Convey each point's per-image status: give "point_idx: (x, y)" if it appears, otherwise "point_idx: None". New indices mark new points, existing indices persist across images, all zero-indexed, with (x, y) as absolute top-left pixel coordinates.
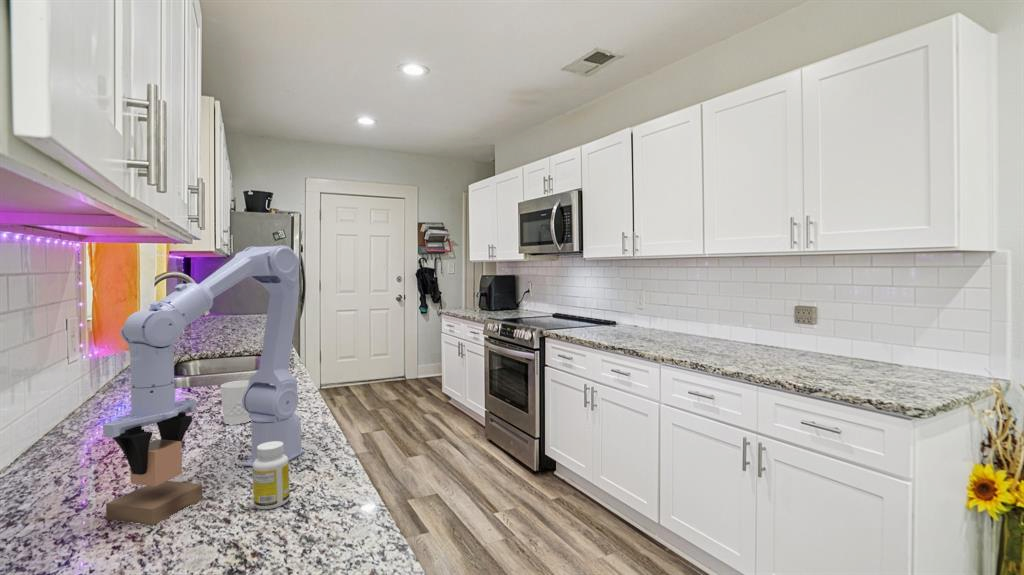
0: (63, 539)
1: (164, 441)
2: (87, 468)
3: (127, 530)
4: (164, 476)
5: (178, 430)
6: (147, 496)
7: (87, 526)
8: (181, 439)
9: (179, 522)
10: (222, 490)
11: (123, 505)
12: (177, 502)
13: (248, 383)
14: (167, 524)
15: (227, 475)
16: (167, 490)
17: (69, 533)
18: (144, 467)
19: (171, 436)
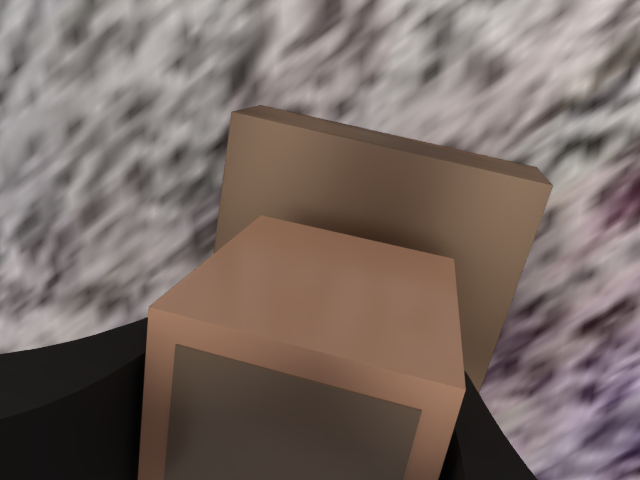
0: (620, 457)
1: (182, 454)
2: None
3: (568, 257)
4: (384, 256)
5: (64, 408)
6: None
7: (512, 438)
8: (94, 342)
9: (507, 52)
10: (160, 65)
11: (486, 364)
12: (396, 143)
13: None
14: (524, 103)
15: (15, 152)
16: None
17: (568, 466)
18: (469, 387)
19: (109, 442)
